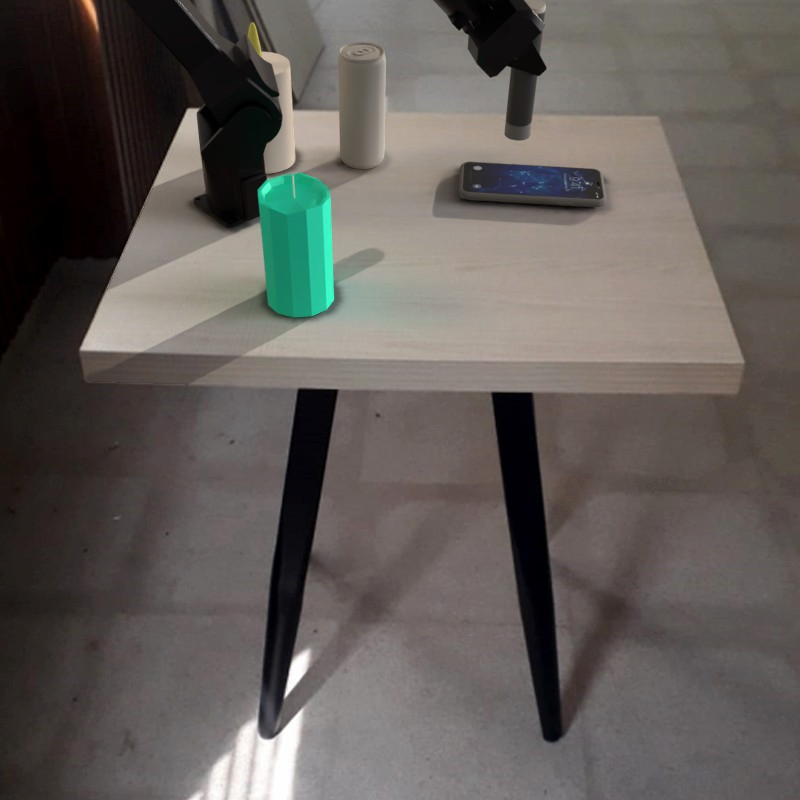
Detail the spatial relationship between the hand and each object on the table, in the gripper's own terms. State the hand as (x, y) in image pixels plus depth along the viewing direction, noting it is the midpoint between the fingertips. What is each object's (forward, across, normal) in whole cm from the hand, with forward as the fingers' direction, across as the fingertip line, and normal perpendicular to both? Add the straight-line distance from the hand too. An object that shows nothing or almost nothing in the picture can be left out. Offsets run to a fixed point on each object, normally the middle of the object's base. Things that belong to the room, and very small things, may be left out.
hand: (538, 65), depth 92 cm
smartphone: (+9, -2, +9) cm, 13 cm away
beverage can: (-2, +7, +20) cm, 22 cm away
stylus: (+4, 0, +6) cm, 7 cm away
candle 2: (-9, -17, +27) cm, 33 cm away
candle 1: (-10, +9, +28) cm, 31 cm away
